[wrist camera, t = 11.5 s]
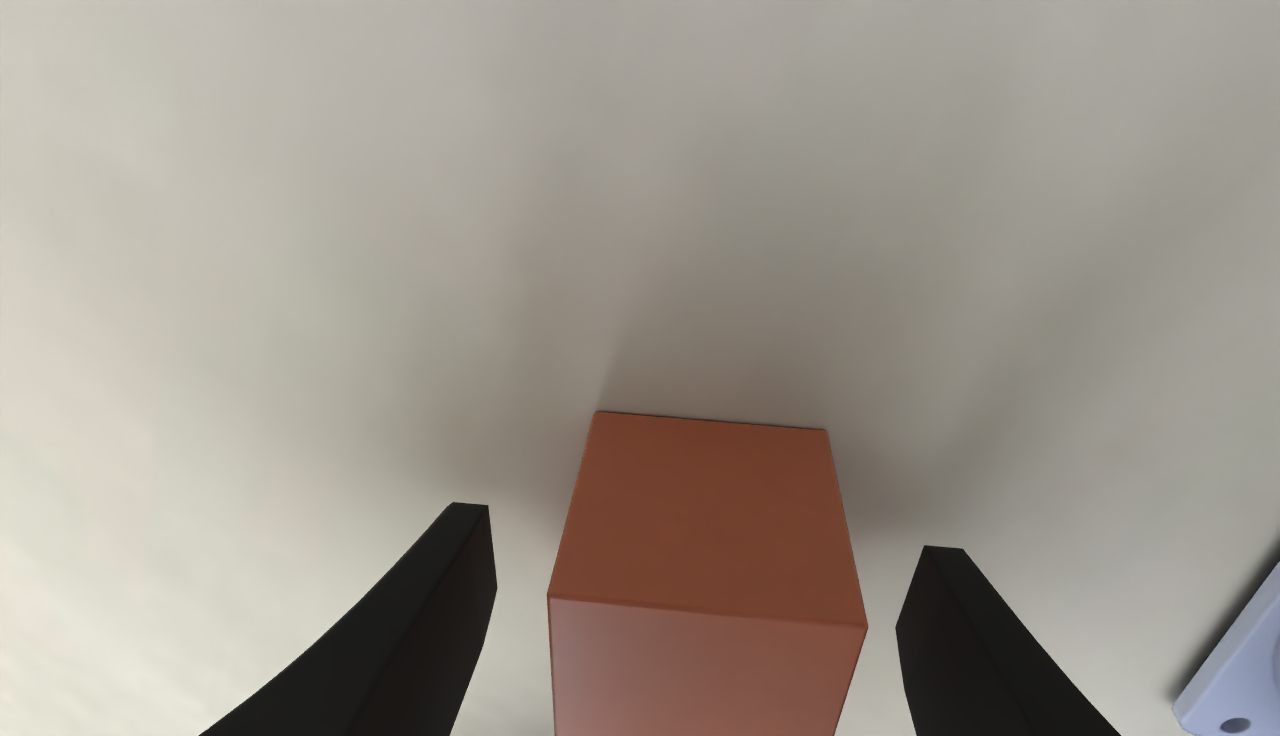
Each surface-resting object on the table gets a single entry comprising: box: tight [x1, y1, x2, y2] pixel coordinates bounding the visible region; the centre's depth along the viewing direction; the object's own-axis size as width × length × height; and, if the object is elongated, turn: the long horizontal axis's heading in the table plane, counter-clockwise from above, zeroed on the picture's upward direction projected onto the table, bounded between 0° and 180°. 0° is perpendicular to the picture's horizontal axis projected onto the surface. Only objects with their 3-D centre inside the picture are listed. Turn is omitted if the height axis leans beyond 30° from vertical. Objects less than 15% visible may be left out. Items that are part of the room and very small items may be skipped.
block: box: [547, 412, 868, 736], centre depth 11 cm, size 4×4×4 cm
